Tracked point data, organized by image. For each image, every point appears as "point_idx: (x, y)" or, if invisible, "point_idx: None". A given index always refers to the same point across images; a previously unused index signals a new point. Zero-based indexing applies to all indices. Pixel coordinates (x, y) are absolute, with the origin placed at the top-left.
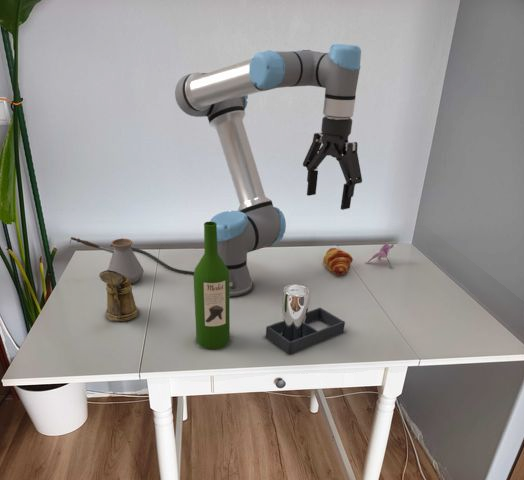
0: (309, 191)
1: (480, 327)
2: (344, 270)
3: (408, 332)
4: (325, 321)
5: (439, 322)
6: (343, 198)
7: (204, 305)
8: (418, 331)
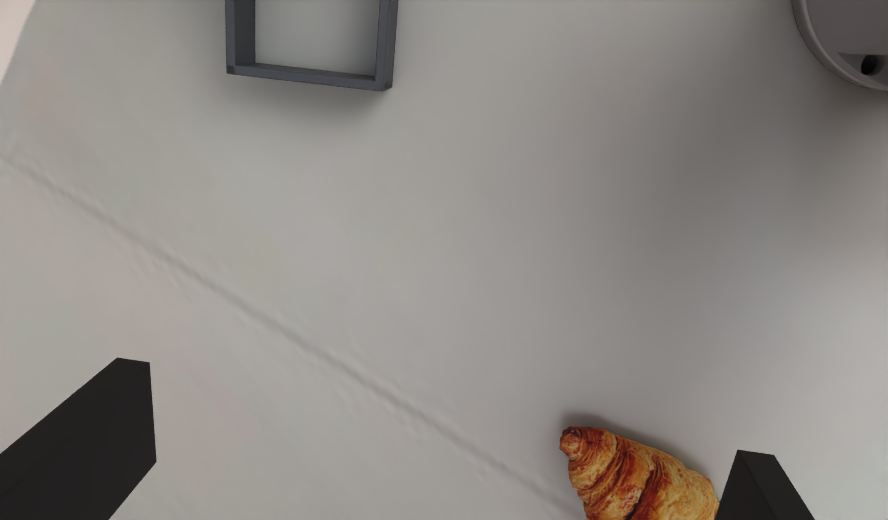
0: (756, 497)
1: None
2: (570, 461)
3: (120, 262)
4: (342, 73)
5: None
6: (31, 440)
7: None
8: (108, 294)
